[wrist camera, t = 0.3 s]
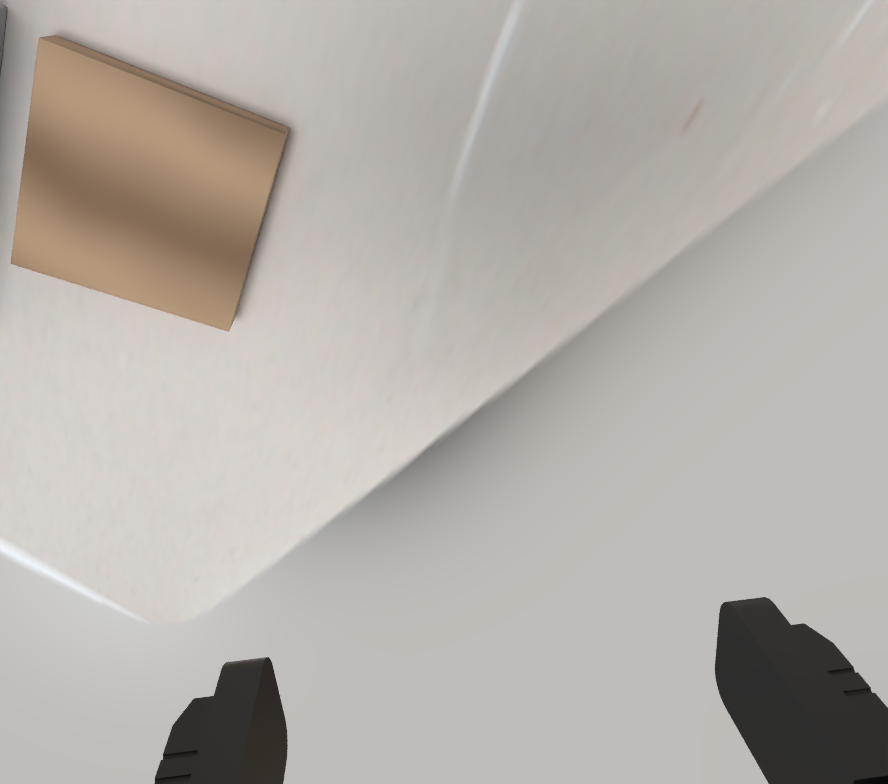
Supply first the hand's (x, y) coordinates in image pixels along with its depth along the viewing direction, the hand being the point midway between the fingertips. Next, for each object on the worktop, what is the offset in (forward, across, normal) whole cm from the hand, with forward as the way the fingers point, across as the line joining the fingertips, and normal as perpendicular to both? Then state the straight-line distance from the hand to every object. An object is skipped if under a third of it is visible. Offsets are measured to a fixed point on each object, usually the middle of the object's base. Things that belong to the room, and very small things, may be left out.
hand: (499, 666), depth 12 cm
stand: (+22, +11, -7) cm, 25 cm away
